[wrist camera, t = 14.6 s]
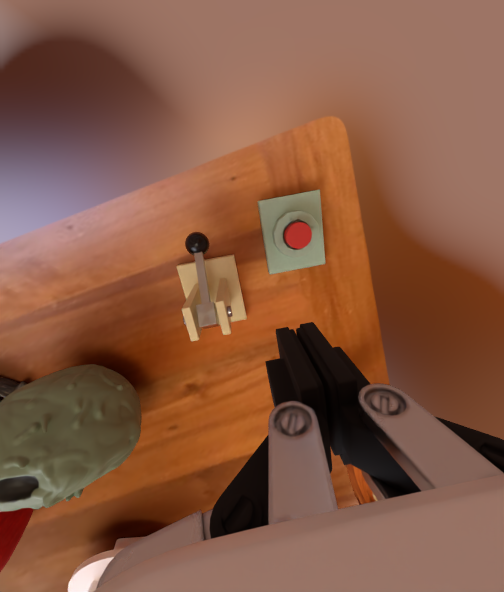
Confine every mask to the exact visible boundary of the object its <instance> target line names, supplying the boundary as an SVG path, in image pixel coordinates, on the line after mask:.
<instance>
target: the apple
mask: <svg viewBox="0 0 504 592" xmlns="http://www.w3.org/2000/svg"><path fill="white" fill-rule="evenodd" d="M32 512H33V509H32V508H21V509H18V510H14V511H2V512H0V572H1V570H2V569H3V568H4V566H5V565H6V563H7V562H8V560H9V559H10V557H11V555H12V553H13V551H14V550H15V548H16V546H17V544H18V542H19V540H20V539H21V537H22V534H23V532H24V530H25V528H26V526H27V524H28V522H29V520H30V518H31V515H32Z"/></svg>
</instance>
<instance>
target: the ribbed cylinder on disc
mask: <svg viewBox="0 0 504 592" xmlns="http://www.w3.org/2000/svg"><path fill="white" fill-rule="evenodd" d="M142 538H144V537H133V538H120V539H117V541H116V544H115V547H114V549H113V550H109V551H105V552H102V553H99V554H97V555H94V556H92V557H90V558H88V559H87V560H85V561H84V562H82V563H81V564H80V565H79V566H78V567H77V568H76V570H75V571H74V573H73V575H72V578H71V580H70V582H69V585H68V592H93V591H95V590H96V588H97V585H98V582H99V579H100V577H101V575H102V574H103V572H104V570H105V568H106V567H107V565H108V564H109V562H110V561H111V560H112V559H113V558H114V557H115V556H116V554H117V553H118V552H120V551H121V550H123V549H124V548H125V547H127V546H128V545H130V544H132V543H134V542H136V541H138V540H140V539H142Z"/></svg>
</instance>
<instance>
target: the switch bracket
mask: <svg viewBox="0 0 504 592" xmlns="http://www.w3.org/2000/svg"><path fill="white" fill-rule="evenodd" d="M205 266H206V273H207V279H208V285H209V292H210V298H211V302H214V303H215V304H216V307H217V311H218V316H219V322H220V324H221V328H222V332H223V335H226V334H231V322H233V321H239V320H244V319H247V317H246V312H245V307H244V302H243V297H242V292H241V287H240V282H239V277H238V272H237V267H236V262H235V257H234V254H231V255H226V256H221V257H216V258H210V259H205ZM177 270H178V274H179V277H180V280H181V284H182V287H183V291H184V294H185V298H186V302H185V303H184V305H183V307H182V312H183V320H184V324H185V325H186V326H187V329H188V332H189V336H190V339H191V341H196V340H199V338H200V334H201V330H202V328H200V327H199V322H198V315H197V308H196V305H198V304H201V297H200V290H199V284H198V277H197V270H196V263H195V262H190V263H184V264H179V265H177Z"/></svg>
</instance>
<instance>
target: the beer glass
mask: <svg viewBox="0 0 504 592" xmlns="http://www.w3.org/2000/svg"><path fill="white" fill-rule="evenodd" d="M346 468H347V472H348V475H349V479H350V482H351V485H352V488H353V491H354V493H355V496H356V498H357V500H358V503H359V505H361V504H366V503H370V502H375V501H378V499H377V498H376V496H375V495H374V493H373V492H372V490H371V489H370V487H369V486H368V484H367V483H366V481H365V479H364V477H363V475H362V472H361V470H360V469H358V468H357V467H355V466H353V465H352V464H348V465H346Z"/></svg>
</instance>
